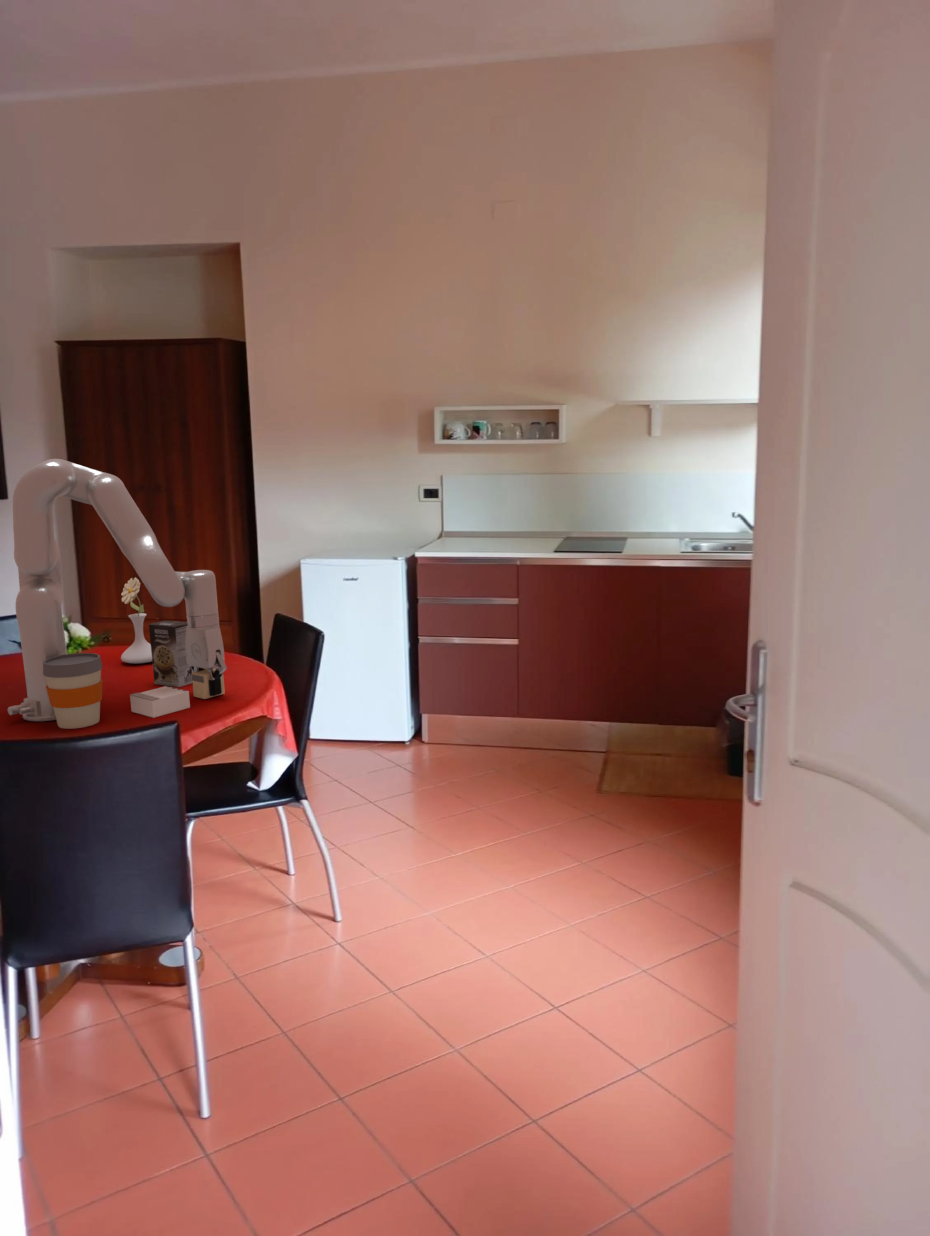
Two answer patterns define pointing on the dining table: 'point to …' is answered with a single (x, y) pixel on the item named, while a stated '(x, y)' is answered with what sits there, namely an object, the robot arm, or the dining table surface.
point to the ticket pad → (160, 701)
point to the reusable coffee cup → (74, 688)
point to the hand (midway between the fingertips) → (209, 692)
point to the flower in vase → (136, 627)
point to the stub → (204, 684)
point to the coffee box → (169, 653)
